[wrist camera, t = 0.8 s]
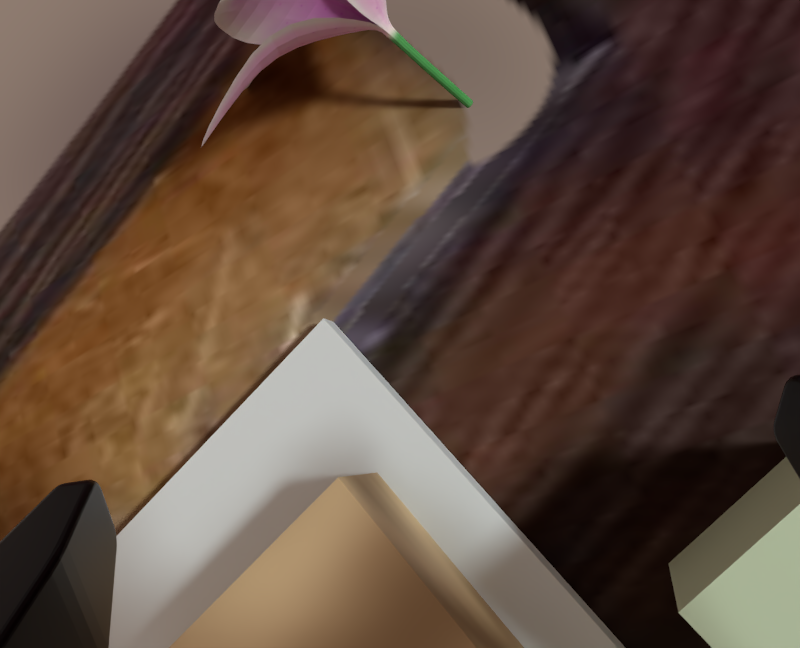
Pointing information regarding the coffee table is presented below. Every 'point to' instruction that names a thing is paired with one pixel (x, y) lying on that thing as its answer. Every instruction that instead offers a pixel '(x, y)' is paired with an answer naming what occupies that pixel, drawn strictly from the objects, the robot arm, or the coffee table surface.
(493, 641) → the base block
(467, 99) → the lily
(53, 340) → the coffee table surface
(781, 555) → the top block
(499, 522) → the white rectangular plate
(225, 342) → the coffee table surface
